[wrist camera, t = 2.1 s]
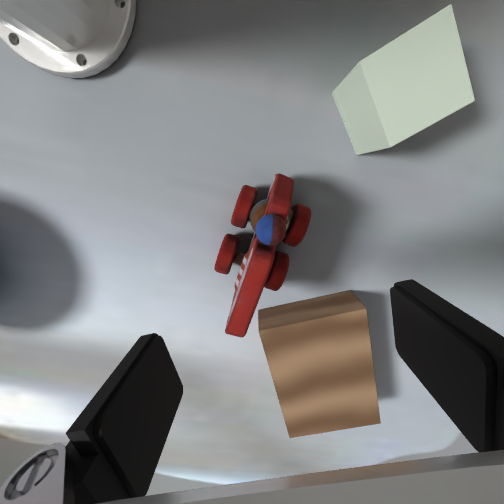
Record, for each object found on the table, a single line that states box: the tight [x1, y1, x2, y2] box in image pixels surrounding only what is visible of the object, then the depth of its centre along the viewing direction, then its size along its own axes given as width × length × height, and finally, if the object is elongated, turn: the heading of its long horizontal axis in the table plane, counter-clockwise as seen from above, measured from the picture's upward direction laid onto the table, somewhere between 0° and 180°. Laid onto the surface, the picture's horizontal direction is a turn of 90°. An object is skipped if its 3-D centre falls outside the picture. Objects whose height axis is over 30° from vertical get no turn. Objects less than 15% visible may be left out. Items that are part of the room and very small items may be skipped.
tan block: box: [258, 290, 380, 438], centre depth 28 cm, size 16×11×4 cm
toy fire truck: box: [215, 174, 311, 337], centre depth 20 cm, size 7×12×10 cm, turn 160°
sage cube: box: [332, 4, 475, 155], centre depth 19 cm, size 6×6×6 cm
